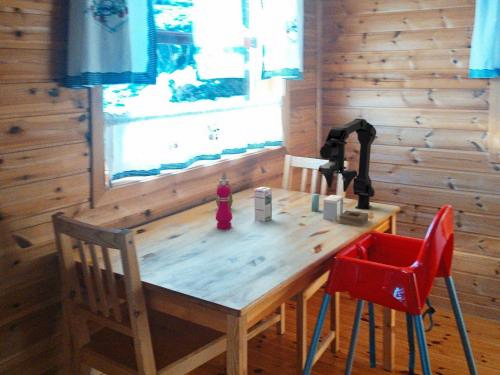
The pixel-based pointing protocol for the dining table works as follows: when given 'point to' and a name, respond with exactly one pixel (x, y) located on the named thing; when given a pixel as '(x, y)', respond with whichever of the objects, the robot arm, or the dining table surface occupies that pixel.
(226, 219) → the pepper mill
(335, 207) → the small white footstool
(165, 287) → the dining table surface
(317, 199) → the peg
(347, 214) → the socket
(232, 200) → the squeeze bottle
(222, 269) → the dining table surface
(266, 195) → the syrup box
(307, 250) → the dining table surface
